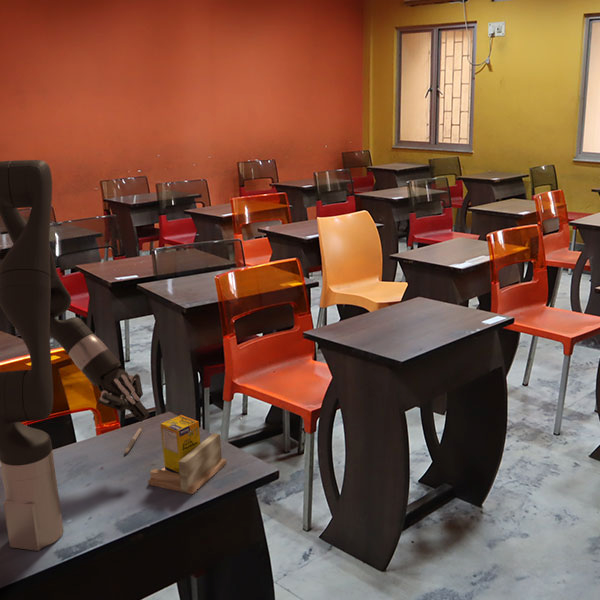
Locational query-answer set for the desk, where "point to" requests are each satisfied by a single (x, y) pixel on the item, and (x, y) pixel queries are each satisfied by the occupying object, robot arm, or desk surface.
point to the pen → (133, 439)
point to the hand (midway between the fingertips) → (145, 418)
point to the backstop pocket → (192, 468)
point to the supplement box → (178, 440)
